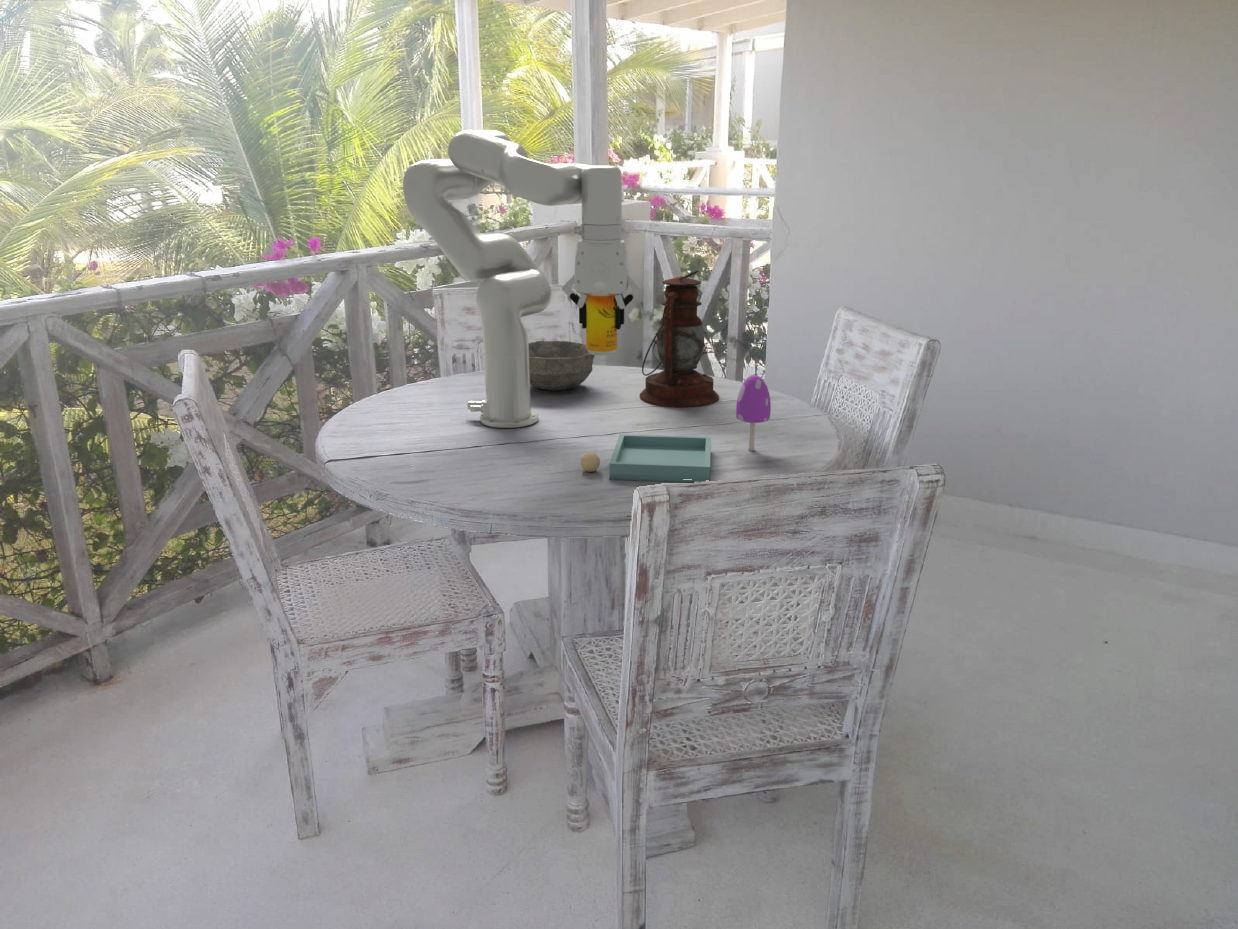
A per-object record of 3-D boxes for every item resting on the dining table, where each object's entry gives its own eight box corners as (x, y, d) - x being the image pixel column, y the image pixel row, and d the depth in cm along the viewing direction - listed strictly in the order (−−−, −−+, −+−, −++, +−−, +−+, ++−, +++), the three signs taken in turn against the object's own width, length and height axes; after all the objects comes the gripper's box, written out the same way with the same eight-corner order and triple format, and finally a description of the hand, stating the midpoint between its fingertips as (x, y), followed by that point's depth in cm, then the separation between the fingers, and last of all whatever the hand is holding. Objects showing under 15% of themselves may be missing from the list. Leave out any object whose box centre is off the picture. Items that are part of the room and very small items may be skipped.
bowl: (594, 399, 222) (594, 358, 219) (507, 399, 223) (505, 357, 219) (597, 378, 242) (597, 340, 239) (517, 378, 242) (516, 339, 239)
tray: (609, 479, 170) (609, 463, 169) (619, 448, 187) (619, 434, 186) (709, 482, 168) (709, 466, 167) (710, 451, 185) (711, 436, 184)
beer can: (613, 356, 183) (613, 278, 178) (582, 355, 184) (582, 277, 179) (619, 350, 188) (620, 274, 183) (590, 348, 189) (589, 273, 185)
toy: (760, 457, 182) (763, 381, 177) (728, 451, 185) (731, 376, 180) (773, 448, 187) (777, 374, 182) (743, 442, 191) (746, 370, 186)
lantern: (657, 384, 236) (659, 262, 227) (729, 392, 229) (734, 267, 219) (626, 402, 220) (626, 272, 210) (703, 411, 213) (707, 277, 203)
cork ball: (579, 474, 173) (579, 455, 171) (582, 467, 176) (581, 449, 175) (598, 474, 172) (598, 456, 171) (601, 468, 176) (601, 449, 174)
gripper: (553, 234, 176) (555, 330, 182) (645, 236, 174) (644, 332, 180) (559, 230, 183) (561, 323, 189) (648, 232, 181) (647, 325, 187)
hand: (601, 326), depth 184 cm, fingers closed on beer can, 6 cm apart
